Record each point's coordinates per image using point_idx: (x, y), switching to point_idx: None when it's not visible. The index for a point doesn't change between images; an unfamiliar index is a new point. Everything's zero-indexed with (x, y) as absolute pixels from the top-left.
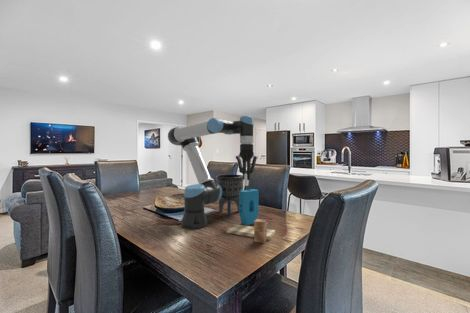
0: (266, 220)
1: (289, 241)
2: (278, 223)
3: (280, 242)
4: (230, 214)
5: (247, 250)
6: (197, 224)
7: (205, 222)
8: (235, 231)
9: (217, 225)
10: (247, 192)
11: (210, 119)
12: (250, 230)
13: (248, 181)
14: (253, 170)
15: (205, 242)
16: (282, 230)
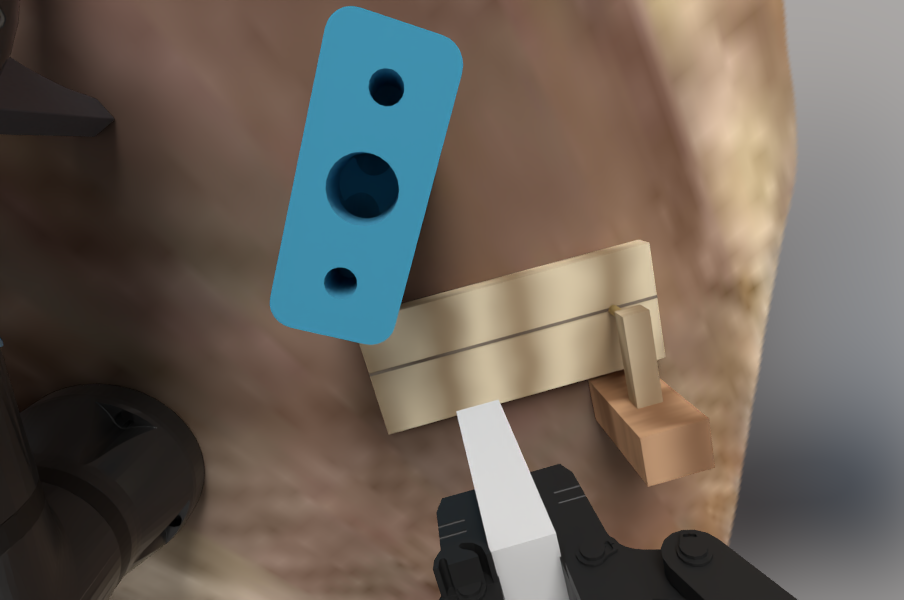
0: (708, 422)
1: (750, 294)
2: (569, 18)
3: (714, 338)
4: (105, 117)
5: (620, 511)
6: (186, 517)
7: (184, 454)
8: (450, 414)
9: (238, 371)
10: (406, 282)
11: None
12: (522, 353)
13: (513, 437)
14: (765, 594)
15: (404, 579)
16: (656, 154)
